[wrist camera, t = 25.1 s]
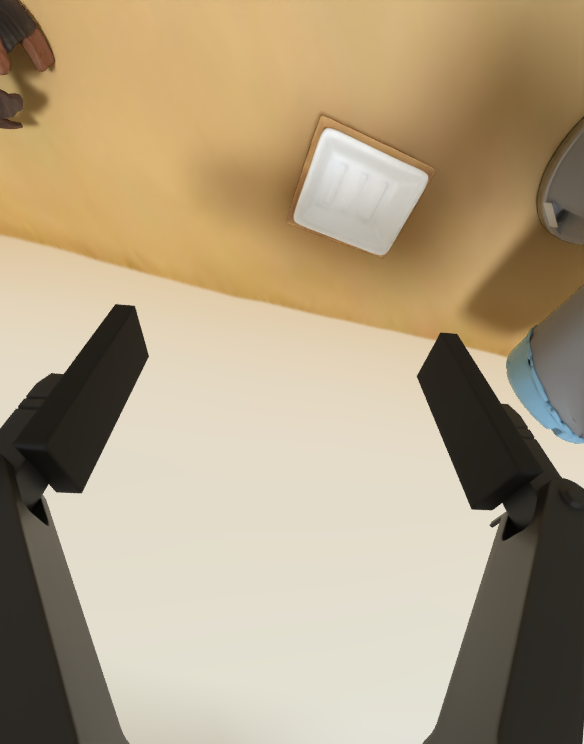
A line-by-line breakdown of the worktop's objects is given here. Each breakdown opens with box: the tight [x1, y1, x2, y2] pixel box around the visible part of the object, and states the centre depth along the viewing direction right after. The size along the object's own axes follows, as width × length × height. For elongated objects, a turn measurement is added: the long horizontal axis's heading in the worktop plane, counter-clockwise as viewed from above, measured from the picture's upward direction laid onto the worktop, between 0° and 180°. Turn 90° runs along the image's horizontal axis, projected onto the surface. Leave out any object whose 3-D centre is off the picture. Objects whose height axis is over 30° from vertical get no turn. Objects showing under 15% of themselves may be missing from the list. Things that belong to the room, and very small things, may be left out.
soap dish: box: [286, 115, 436, 258], centre depth 33 cm, size 12×10×5 cm
